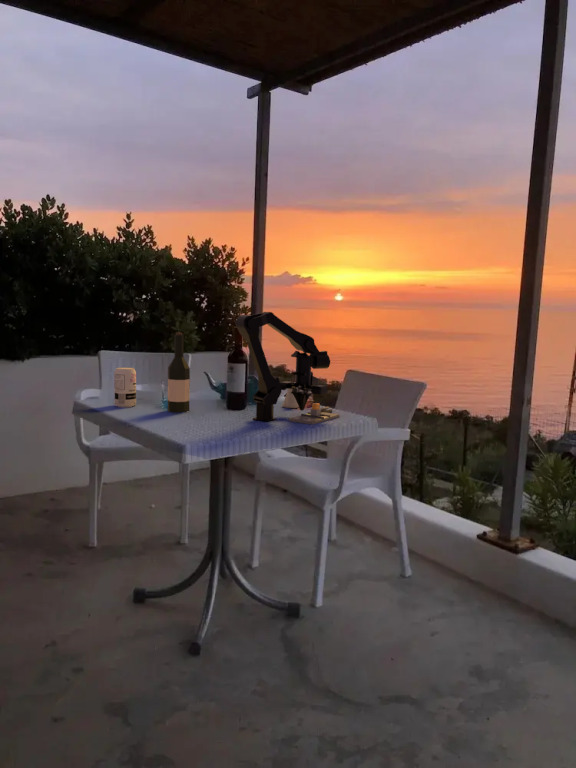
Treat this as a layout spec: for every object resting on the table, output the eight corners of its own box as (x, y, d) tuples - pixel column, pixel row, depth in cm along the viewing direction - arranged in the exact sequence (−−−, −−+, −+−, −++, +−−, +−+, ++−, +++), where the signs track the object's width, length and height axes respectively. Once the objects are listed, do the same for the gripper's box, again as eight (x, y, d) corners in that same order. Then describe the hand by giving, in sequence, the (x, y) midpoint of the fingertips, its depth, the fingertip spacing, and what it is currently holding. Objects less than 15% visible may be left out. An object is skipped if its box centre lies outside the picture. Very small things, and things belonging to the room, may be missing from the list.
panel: (312, 424, 210) (312, 420, 210) (288, 421, 215) (289, 416, 215) (339, 416, 227) (339, 412, 226) (316, 413, 232) (317, 409, 232)
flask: (292, 409, 241) (293, 384, 239) (278, 407, 245) (279, 383, 244) (303, 407, 246) (303, 383, 245) (289, 405, 251) (289, 381, 249)
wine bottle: (187, 413, 224) (188, 333, 221) (165, 412, 225) (165, 333, 221) (191, 409, 233) (192, 332, 229) (170, 408, 233) (170, 332, 229)
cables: (321, 415, 229) (321, 409, 229) (312, 413, 231) (312, 408, 231) (332, 412, 237) (333, 406, 237) (324, 410, 239) (324, 405, 239)
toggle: (316, 416, 219) (316, 404, 219) (310, 415, 221) (310, 403, 220) (320, 415, 222) (321, 403, 221) (314, 414, 223) (315, 402, 223)
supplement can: (114, 404, 239) (114, 367, 237) (135, 404, 241) (135, 367, 239) (114, 407, 231) (114, 369, 229) (136, 407, 234) (136, 369, 232)
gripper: (335, 369, 224) (333, 410, 226) (294, 365, 234) (292, 404, 236) (320, 372, 215) (319, 414, 217) (278, 367, 225) (277, 408, 227)
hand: (301, 410), depth 224 cm, fingers closed
